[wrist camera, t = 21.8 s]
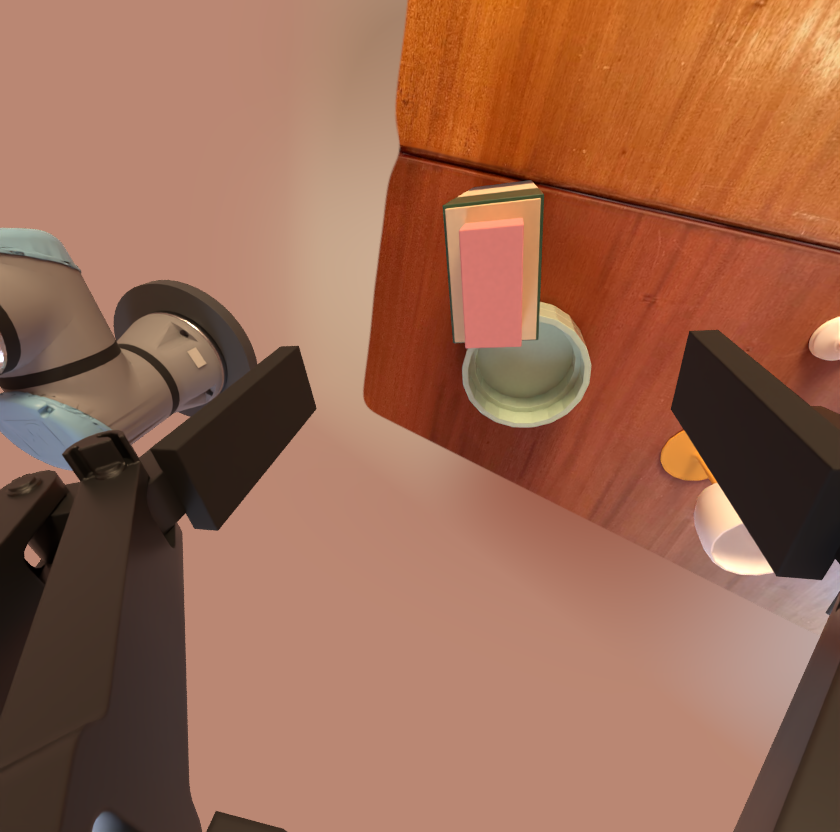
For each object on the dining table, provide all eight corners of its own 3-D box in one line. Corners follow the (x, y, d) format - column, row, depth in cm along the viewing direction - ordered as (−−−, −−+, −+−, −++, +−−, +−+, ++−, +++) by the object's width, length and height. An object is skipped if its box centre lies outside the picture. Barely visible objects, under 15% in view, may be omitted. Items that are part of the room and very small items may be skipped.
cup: (645, 462, 56) (685, 554, 43) (694, 414, 51) (757, 502, 38) (700, 489, 57) (757, 589, 44) (755, 444, 52) (837, 542, 39)
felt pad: (455, 340, 29) (454, 342, 29) (445, 208, 25) (444, 209, 24) (535, 337, 28) (535, 339, 28) (540, 197, 24) (540, 198, 23)
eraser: (464, 223, 25) (458, 229, 22) (523, 217, 24) (523, 223, 21) (469, 332, 28) (465, 349, 26) (520, 330, 27) (521, 347, 25)
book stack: (476, 274, 48) (453, 343, 29) (473, 187, 43) (442, 205, 25) (529, 270, 46) (538, 340, 28) (531, 180, 42) (544, 193, 23)
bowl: (470, 403, 57) (465, 426, 52) (464, 302, 50) (458, 318, 45) (577, 403, 54) (584, 428, 49) (588, 295, 46) (597, 311, 41)
